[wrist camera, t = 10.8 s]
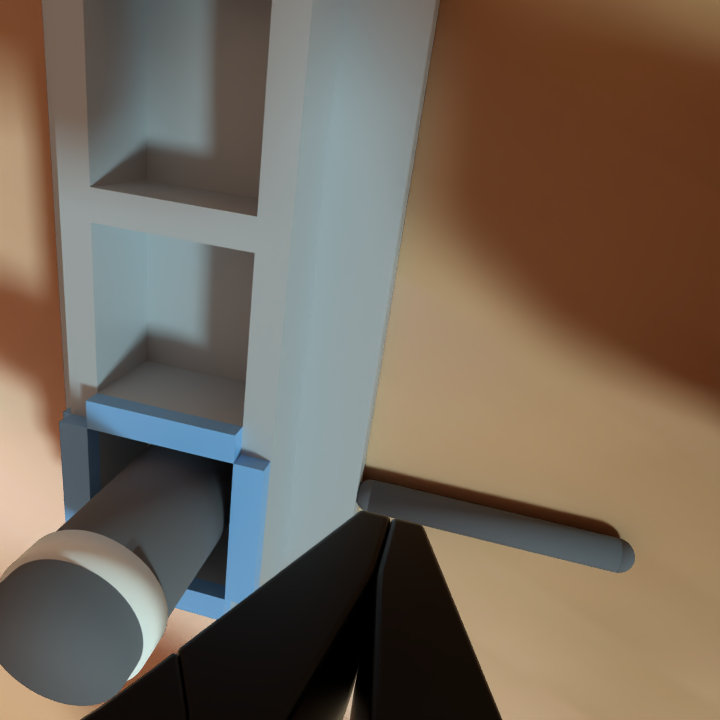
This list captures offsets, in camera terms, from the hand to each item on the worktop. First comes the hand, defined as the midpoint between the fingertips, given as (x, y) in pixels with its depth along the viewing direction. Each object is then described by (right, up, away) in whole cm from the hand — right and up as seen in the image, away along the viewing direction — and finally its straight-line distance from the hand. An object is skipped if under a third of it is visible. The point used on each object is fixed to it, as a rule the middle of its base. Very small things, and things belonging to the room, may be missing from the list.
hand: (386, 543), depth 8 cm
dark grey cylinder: (-6, -1, +15) cm, 16 cm away
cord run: (+5, -3, +14) cm, 16 cm away
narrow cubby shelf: (-5, +5, +14) cm, 15 cm away
